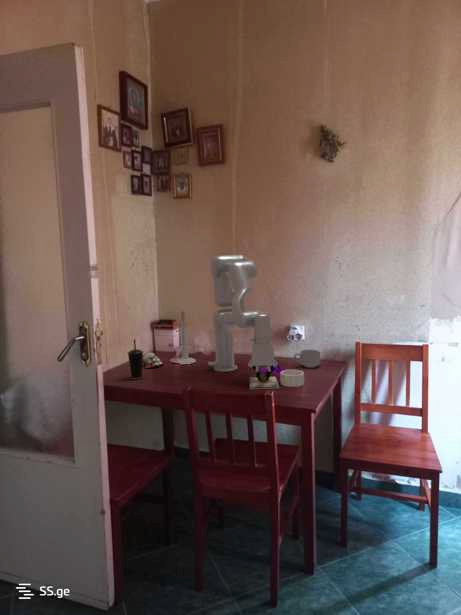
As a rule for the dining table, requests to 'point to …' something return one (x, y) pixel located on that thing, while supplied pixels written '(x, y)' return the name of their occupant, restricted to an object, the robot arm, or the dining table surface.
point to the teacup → (308, 358)
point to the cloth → (275, 370)
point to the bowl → (292, 378)
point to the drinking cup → (135, 362)
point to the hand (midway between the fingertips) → (263, 379)
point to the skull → (151, 359)
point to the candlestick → (184, 344)
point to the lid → (263, 381)
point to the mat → (263, 387)
